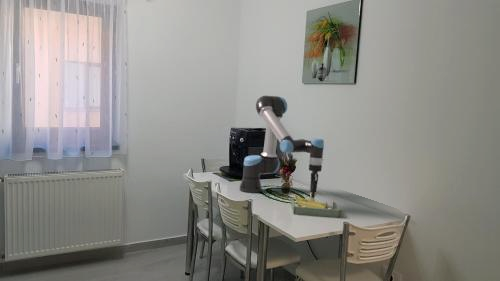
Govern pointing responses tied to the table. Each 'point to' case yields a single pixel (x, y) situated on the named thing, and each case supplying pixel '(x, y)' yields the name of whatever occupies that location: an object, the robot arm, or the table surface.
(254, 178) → the robot arm
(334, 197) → the table surface
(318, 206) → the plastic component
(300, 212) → the tray
